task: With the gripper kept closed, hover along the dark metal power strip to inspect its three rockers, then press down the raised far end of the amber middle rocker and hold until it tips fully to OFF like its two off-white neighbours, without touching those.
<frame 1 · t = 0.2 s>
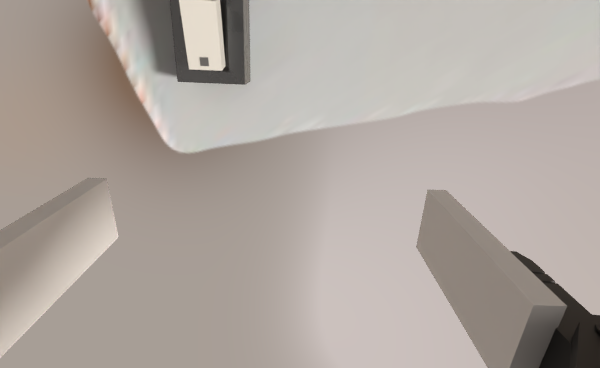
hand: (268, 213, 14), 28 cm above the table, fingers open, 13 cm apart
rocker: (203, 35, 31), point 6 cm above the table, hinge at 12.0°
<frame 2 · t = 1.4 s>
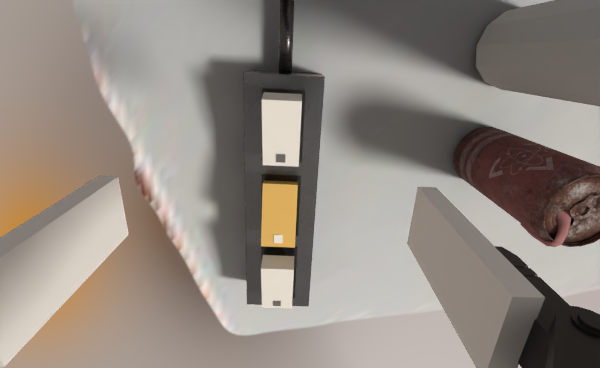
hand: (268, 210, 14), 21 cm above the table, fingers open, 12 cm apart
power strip: (282, 190, 37), on the table
water bottle: (514, 56, 32), on the table
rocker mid: (279, 213, 31), point 6 cm above the table, hinge at -12.0°
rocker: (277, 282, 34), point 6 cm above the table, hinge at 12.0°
can: (478, 155, 35), on the table
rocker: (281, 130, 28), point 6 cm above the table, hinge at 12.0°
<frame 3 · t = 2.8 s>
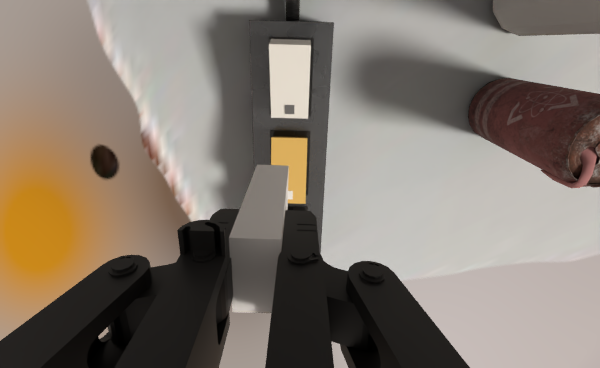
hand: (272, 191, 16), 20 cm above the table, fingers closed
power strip: (291, 151, 36), on the table
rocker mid: (289, 169, 31), point 6 cm above the table, hinge at -12.0°
can: (494, 109, 34), on the table
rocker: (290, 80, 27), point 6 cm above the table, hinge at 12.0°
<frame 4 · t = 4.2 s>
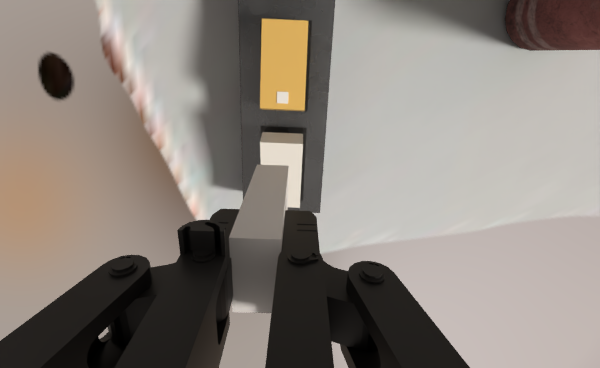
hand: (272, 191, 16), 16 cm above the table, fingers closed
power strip: (287, 65, 29), on the table
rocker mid: (284, 67, 24), point 6 cm above the table, hinge at -12.0°
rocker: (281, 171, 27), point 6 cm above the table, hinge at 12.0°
can: (536, 13, 28), on the table
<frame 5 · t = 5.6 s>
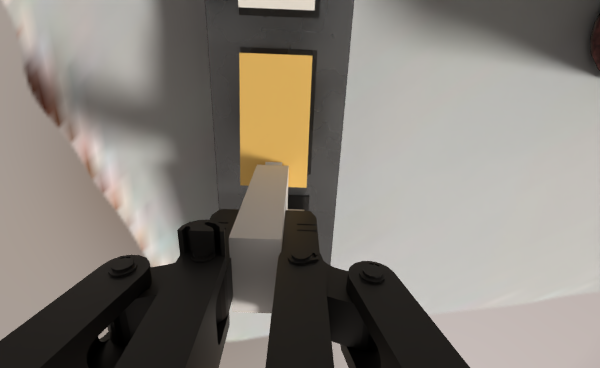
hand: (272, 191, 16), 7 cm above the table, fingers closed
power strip: (282, 102, 21), on the table
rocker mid: (275, 122, 16), point 6 cm above the table, hinge at -9.1°, touching gripper
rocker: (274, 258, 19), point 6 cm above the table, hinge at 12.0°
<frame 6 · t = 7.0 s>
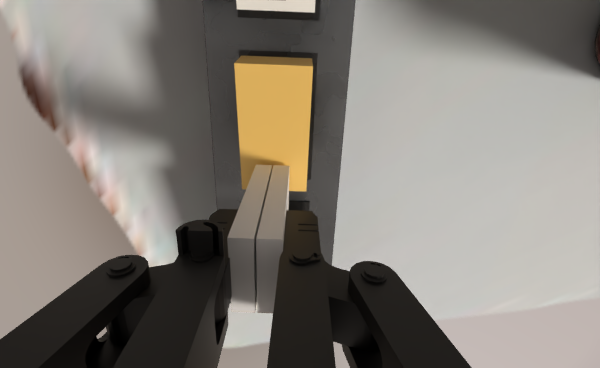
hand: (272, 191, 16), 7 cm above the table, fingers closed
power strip: (281, 106, 21), on the table
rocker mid: (275, 127, 16), point 6 cm above the table, hinge at 7.6°, touching gripper
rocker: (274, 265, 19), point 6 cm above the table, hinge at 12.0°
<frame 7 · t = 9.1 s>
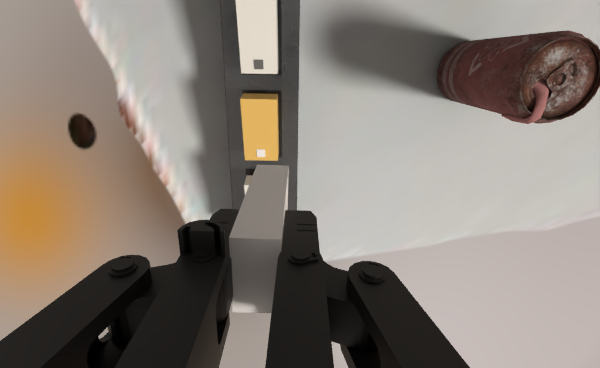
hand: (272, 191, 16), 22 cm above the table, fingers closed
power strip: (266, 117, 37), on the table
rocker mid: (260, 127, 31), point 6 cm above the table, hinge at 10.2°
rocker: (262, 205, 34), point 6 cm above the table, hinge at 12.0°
can: (462, 73, 35), on the table
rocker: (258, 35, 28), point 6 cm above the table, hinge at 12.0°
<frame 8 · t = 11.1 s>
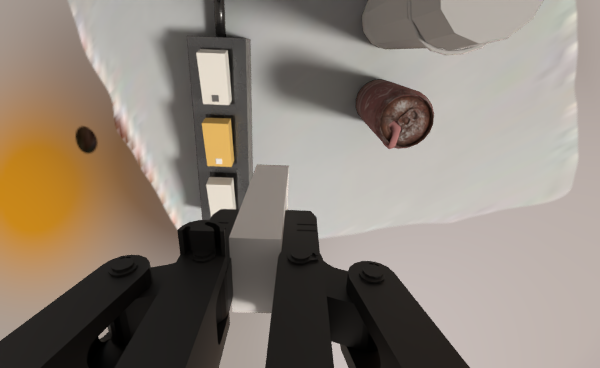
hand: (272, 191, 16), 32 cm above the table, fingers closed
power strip: (227, 132, 48), on the table
water bottle: (393, 24, 43), on the table
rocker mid: (218, 142, 42), point 6 cm above the table, hinge at 10.7°
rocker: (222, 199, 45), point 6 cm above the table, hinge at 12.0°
can: (376, 102, 46), on the table
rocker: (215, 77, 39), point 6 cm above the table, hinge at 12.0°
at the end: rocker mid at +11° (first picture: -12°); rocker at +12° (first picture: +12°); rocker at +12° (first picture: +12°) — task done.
